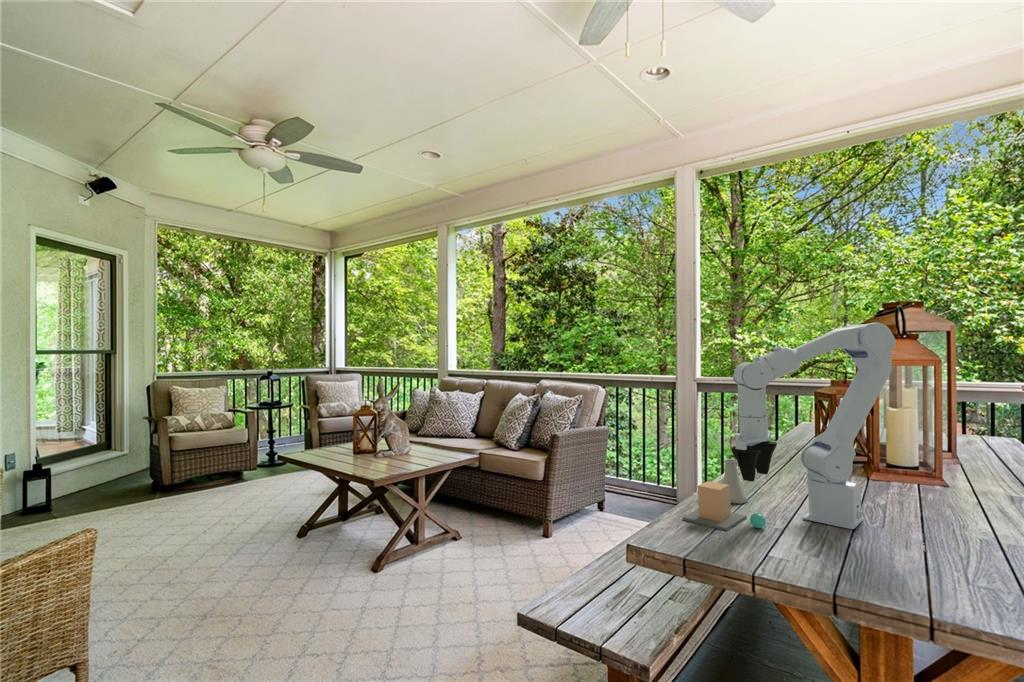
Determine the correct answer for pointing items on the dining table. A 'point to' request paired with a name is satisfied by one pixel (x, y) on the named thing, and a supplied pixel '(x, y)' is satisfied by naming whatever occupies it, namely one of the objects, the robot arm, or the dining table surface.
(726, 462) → the flask
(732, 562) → the dining table surface
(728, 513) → the light orange block
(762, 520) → the ball
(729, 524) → the mat
